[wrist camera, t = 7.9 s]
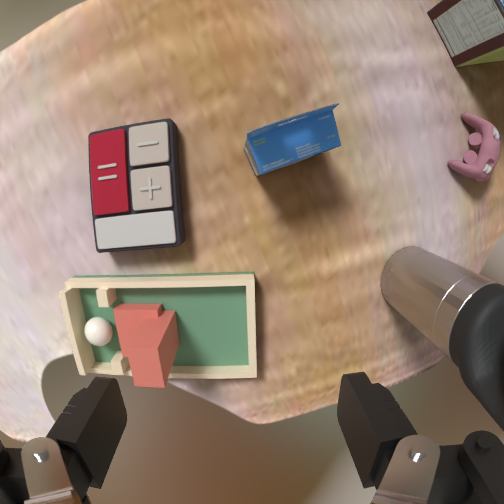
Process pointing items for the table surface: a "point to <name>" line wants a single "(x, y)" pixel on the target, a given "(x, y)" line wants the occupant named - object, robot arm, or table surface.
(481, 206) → the table surface
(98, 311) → the pitch
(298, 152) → the label tape cartridge
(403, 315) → the robot arm
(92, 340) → the ball
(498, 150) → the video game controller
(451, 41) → the protein box
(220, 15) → the table surface
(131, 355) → the block
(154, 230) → the calculator
